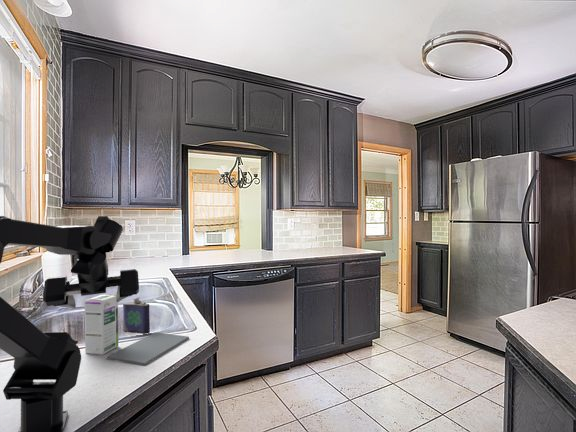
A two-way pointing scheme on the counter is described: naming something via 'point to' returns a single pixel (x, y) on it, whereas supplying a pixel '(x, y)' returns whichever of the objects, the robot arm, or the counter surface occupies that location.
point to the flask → (136, 317)
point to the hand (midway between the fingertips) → (96, 303)
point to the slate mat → (148, 348)
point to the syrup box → (101, 324)
